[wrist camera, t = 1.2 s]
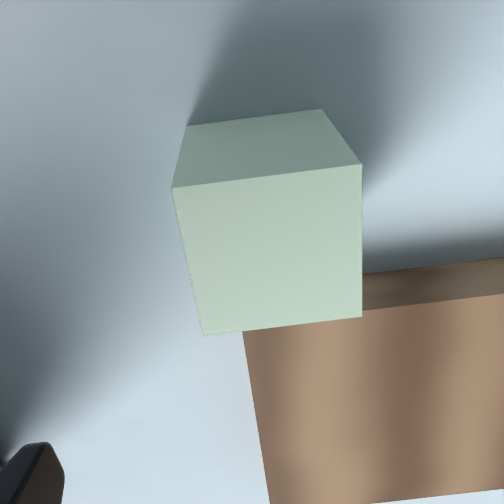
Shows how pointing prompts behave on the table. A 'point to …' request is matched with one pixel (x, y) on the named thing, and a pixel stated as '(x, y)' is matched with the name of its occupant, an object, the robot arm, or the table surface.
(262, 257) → the sage block
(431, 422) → the walnut base
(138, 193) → the table surface
